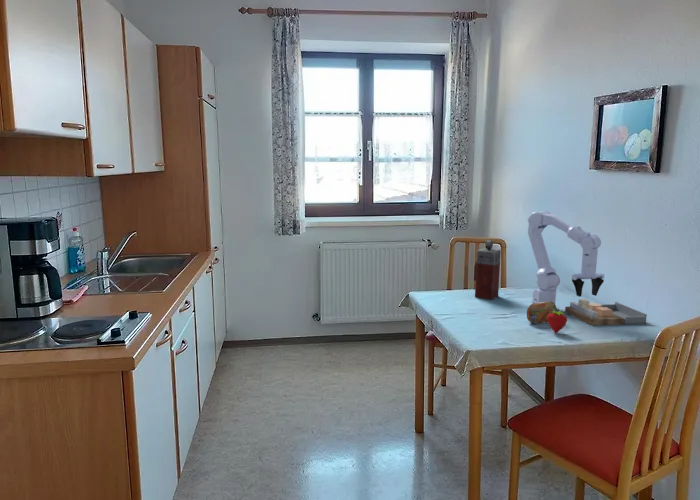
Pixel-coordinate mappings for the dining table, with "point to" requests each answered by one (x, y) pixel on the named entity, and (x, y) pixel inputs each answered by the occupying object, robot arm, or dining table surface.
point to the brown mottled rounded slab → (540, 312)
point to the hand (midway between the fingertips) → (586, 295)
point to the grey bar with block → (583, 308)
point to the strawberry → (556, 320)
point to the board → (596, 321)
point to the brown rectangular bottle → (487, 272)
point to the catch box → (627, 313)
